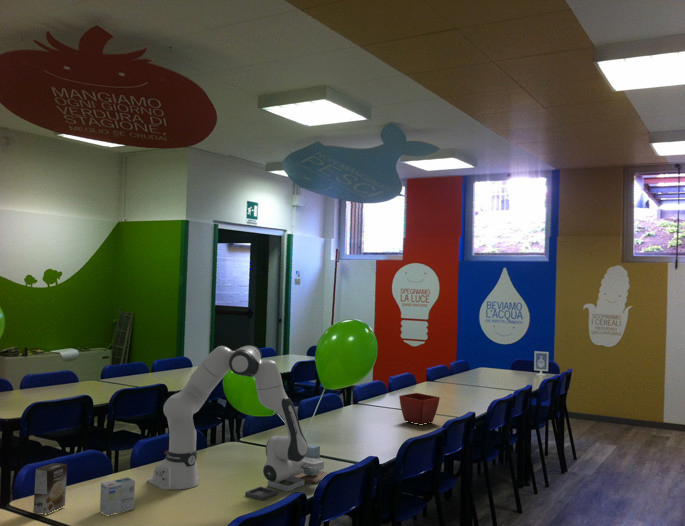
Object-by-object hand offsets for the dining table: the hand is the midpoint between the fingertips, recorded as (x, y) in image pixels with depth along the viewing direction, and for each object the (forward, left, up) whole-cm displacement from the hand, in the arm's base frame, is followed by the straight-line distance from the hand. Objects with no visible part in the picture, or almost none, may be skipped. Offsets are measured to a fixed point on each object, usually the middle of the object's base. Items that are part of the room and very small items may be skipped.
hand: (312, 458), depth 274 cm
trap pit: (-2, -32, -8) cm, 33 cm away
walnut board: (0, 0, -8) cm, 8 cm away
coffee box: (-51, -93, -9) cm, 106 cm away
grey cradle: (-2, -16, -8) cm, 18 cm away
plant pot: (-14, +132, -9) cm, 133 cm away
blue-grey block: (0, -1, -6) cm, 7 cm away
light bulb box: (-32, -78, -9) cm, 85 cm away
